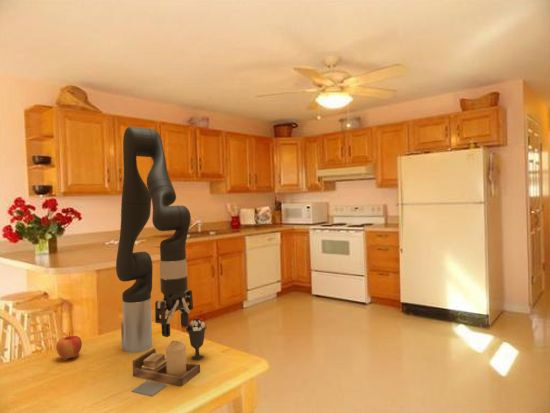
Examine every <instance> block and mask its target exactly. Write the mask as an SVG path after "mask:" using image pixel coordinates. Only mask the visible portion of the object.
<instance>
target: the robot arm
mask: <svg viewBox="0 0 550 413" xmlns="http://www.w3.org/2000/svg"><path fill="white" fill-rule="evenodd" d="M122 139H123V140H122V154H123V156H122V158H123V159H122V160H123V178H122V180H123V181H122V182H123V183H122V192H121V208H120V232H119V241H118V247H117V254H116V260H115V261H116V263H115V272H116V276H117V278H118V280H120V281H121V282H131V281H134V283H133V284H132V285H130V287H128V288H126V290H124V291H123V292H122V293H121V294H122V297H121V298H122V320H123V321H121V323H120V332H121V334H120V335H121V350H123V351H124V352H126V353H128V354H129V353H130V354H137V353H143V352H146V351H150V350H151V348H153V322H152V321H153V320H152V318H153V317H152V316H153V315H152V291H153V259H152V257H151V255H150V253H149V252H147V251H136V252H134V248H135V245H136V241H137V239H138V237H139V235H140V234H141V233H142V231H143V229H144V228H145V226H146V225H147V224H148V222H149V219H150V217H151V211H152V218H151V219H152V225H153V227H154V228H155V229H156V230H157V231H159V232H168V231H169V232H170V231H174V234H173V235H172V236H171V237H168V238H164V239H162V240H161V241H160V243H159V253H160V254H159V256H160V264H159V276H160V277H159V278H160V282H159V283H160V284H159V285H160V293H161V294H163V298H162V300H156V301H155V303H154V304H155V305H154V306H155V308H154V311H155V314H154V316H155V317H154V318H155V319H154V320H155V322H154V323H156V324H160V326H161V335H162V336H163V338H164V337H165V338H169V337H170V336H171V323H170V322H171V318H172V317H173V316H174V315H175V313H176V312H177V311H178V310H179V312H180V326H181V327H185V328H187V327H188V325H190V323H189V316H190V315H189V314H190V311H191V310H193V309H194V302H193V299H194V298H193V291H192V290H191V289H189V286H188V263H187V257H186V255H187V254H186V252H187V251H186V243H187V238H188V233H189V229H190V225H191V221H192V220H191V212H190V210H189V208H187V206H185V205H173V204H174V203H175V201H176V200H177V194H176V191H175V189H174V186H173V184H172V183H173V182H172V181H171V178H170V176H169V172H168V167H167V162H166V155H165V151H164V146H163V142H162V137H161V135H160V133H159V131H157V130H156V129H152V128H147V127H146V128H144V127H140V126H139V127H137V126H127V127H126V129H125V131H124V133H123V138H122ZM137 157H144V158H151V159H152V166H151V168H150V170H149V171H148V174H147V177H146V184H145V182H144V180H143V178H142V176H141V174H140V172H139V169H138V163H137V162H138V161H137V159H138V158H137ZM151 207H152V210H151Z"/></svg>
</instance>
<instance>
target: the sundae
mask: <svg viewBox="0 0 550 413" xmlns="http://www.w3.org/2000/svg"><path fill="white" fill-rule="evenodd" d="M202 313H203V311H202V310H200V311H199V313H198V315H197V316H195V317H194V318H193V319H192V320H191V321H190V323H189V325H188V326H187V327H185V330H186V333H188V337H189V342H190V347H192V348H193V349H195V353H194V355H193V356H192V357H191V358H190V360H192V361H201V360H203V359H204V355H201V354H200V348H201V347H202V346H203V345H204V342H205V333H206V329H207V328H208V326H206V324H205V322H204V321H203V318H202V316H201V315H202ZM199 316H200V318H199Z"/></svg>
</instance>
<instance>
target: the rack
mask: <svg viewBox="0 0 550 413" xmlns="http://www.w3.org/2000/svg"><path fill="white" fill-rule="evenodd" d="M156 349H157V348H152V349H149V350H147V352H144V353H143V354H141V355H140V356H138V357H136V358H134V359H133V360H132V377H136V378H141V379H146V380H147V381H152V382H157V383H161V384H166V385H172V386H177V387H183V386H184V385H186V384H187V383H188V382H189V381H190V380H192V379H193V378H195V377H196V376H197V375H198V374H199V373H200V372H201V365H200V364H197V363H192V362H187V361H186V373H185V374H184V375H183V376H181V377H178V376H173V375H168V374H167V368H166V365H164V366H163V367H161V368H159V369H158V370H156V371H155V372H153V371H148V370H144V369H141V367H142V366H143V365H144V360H145V359H146V358H147V357H149V356H150V355H152V354H153V353H157V350H156ZM165 360H166V358H165Z"/></svg>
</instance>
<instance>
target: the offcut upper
mask: <svg viewBox="0 0 550 413" xmlns="http://www.w3.org/2000/svg"><path fill="white" fill-rule="evenodd" d="M165 359H166V353H165V354H164V353H157V352H156V353H153V354H152V355H150V356H149V357H147V358H146V359H145V360H144V367H153V368H156V367H157V366H158V365H159V364H160V363H162V362H163V361H164V360H165Z"/></svg>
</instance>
